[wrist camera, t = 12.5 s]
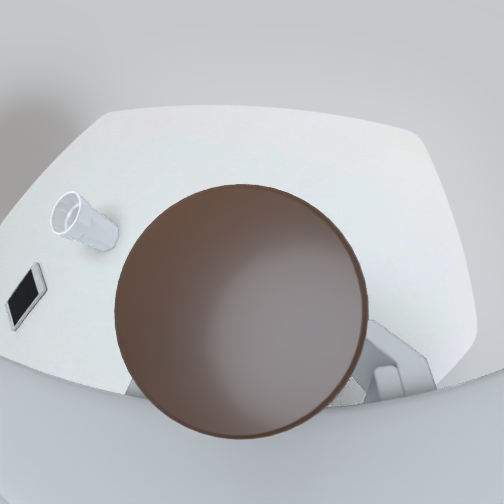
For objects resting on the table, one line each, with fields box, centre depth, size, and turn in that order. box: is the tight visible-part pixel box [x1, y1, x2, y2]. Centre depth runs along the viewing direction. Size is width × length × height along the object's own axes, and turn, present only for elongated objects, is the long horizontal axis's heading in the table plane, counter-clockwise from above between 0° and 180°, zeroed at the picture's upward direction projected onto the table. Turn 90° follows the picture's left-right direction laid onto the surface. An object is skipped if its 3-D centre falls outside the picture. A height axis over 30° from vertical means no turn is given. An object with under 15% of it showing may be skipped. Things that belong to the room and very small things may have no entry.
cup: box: [50, 191, 119, 252], centre depth 39 cm, size 7×7×11 cm
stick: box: [114, 184, 369, 440], centre depth 11 cm, size 4×4×18 cm
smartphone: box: [5, 262, 47, 331], centre depth 44 cm, size 7×16×1 cm, turn 129°
